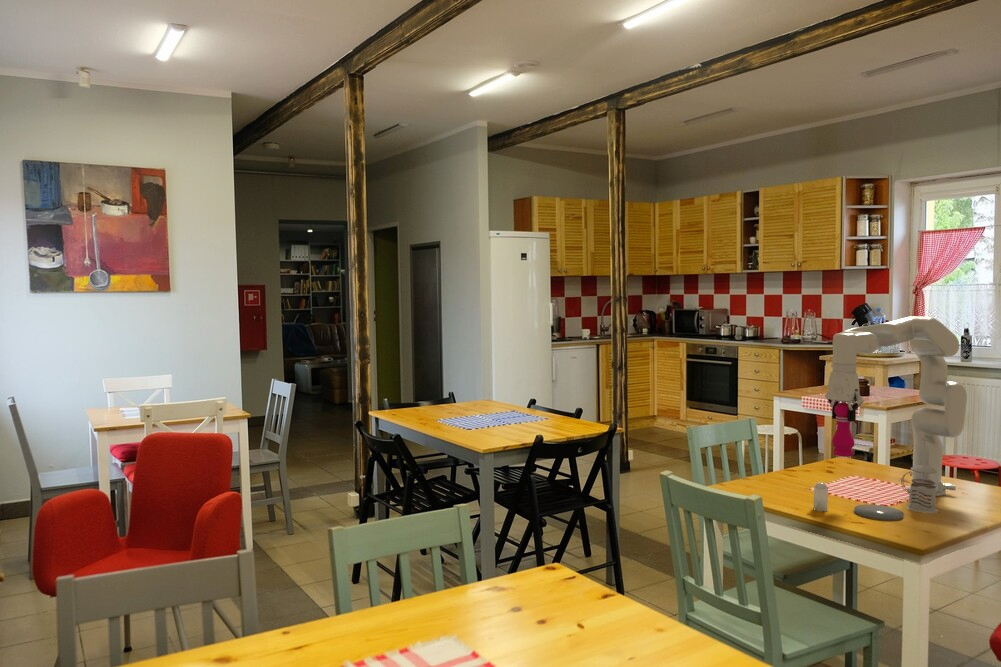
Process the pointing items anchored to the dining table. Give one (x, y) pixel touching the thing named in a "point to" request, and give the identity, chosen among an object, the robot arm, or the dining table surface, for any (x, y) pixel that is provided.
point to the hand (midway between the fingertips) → (843, 419)
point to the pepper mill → (842, 432)
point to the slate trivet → (879, 512)
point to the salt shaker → (820, 497)
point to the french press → (922, 489)
